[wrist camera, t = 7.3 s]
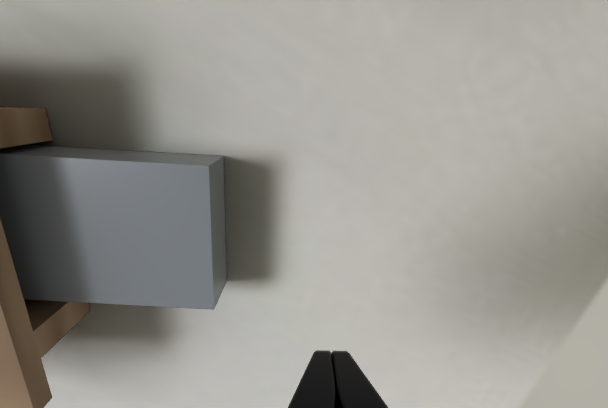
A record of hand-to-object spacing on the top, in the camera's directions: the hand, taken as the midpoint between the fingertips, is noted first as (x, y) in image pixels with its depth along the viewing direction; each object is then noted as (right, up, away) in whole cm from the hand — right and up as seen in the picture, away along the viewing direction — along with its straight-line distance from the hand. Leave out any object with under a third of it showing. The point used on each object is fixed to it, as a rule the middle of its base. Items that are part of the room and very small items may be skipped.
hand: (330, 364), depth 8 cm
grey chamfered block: (-13, +3, +9) cm, 16 cm away
